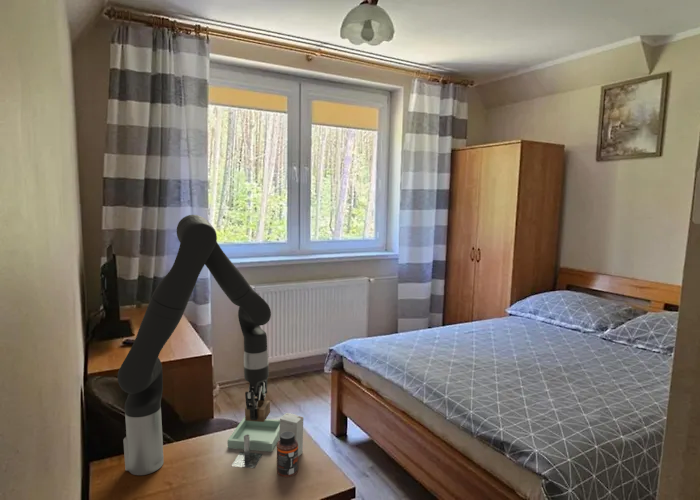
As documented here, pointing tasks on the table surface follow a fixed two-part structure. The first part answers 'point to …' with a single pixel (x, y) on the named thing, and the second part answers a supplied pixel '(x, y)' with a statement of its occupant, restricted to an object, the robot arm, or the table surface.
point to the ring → (259, 411)
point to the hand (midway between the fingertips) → (257, 414)
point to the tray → (256, 435)
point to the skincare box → (293, 428)
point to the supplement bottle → (287, 454)
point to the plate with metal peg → (247, 456)
